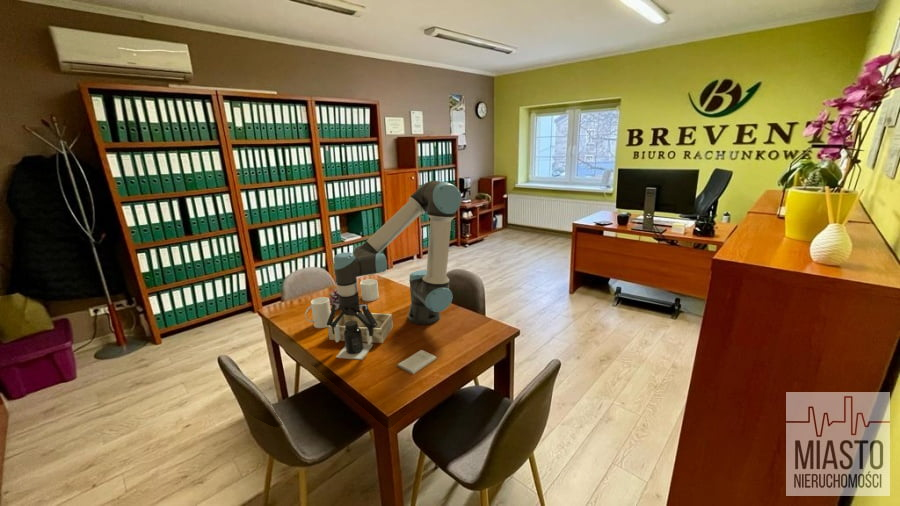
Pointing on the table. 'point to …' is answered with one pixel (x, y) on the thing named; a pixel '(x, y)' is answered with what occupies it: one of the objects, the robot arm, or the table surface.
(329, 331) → the crate
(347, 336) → the supplement bottle
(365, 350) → the pad
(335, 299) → the purple spiky ball
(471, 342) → the table surface
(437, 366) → the table surface
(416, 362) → the external hard drive
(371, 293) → the mug
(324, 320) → the mug
